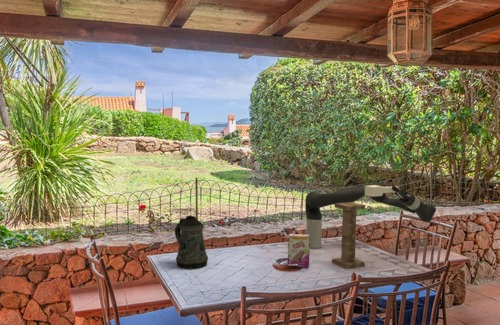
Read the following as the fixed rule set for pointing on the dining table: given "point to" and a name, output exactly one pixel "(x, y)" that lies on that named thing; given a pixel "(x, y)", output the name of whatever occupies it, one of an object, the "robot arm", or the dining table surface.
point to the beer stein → (190, 244)
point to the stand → (348, 236)
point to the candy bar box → (299, 249)
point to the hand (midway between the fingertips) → (390, 186)
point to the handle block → (377, 190)
